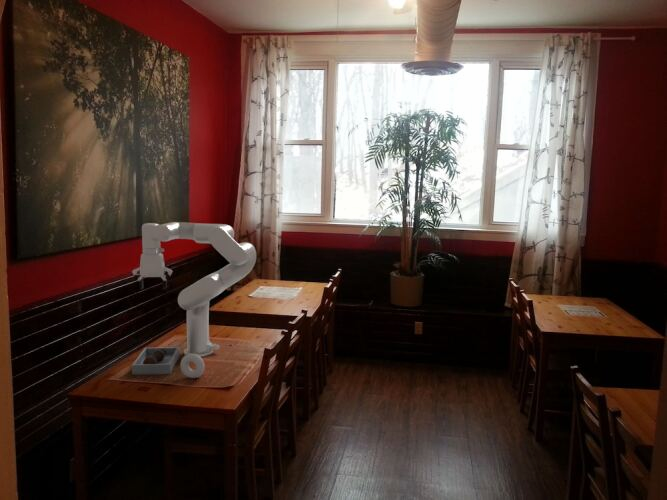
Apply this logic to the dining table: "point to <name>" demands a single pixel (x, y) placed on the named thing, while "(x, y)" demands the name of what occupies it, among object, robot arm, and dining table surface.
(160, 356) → the bolt
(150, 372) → the bin
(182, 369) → the donut
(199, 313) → the robot arm
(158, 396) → the dining table surface
